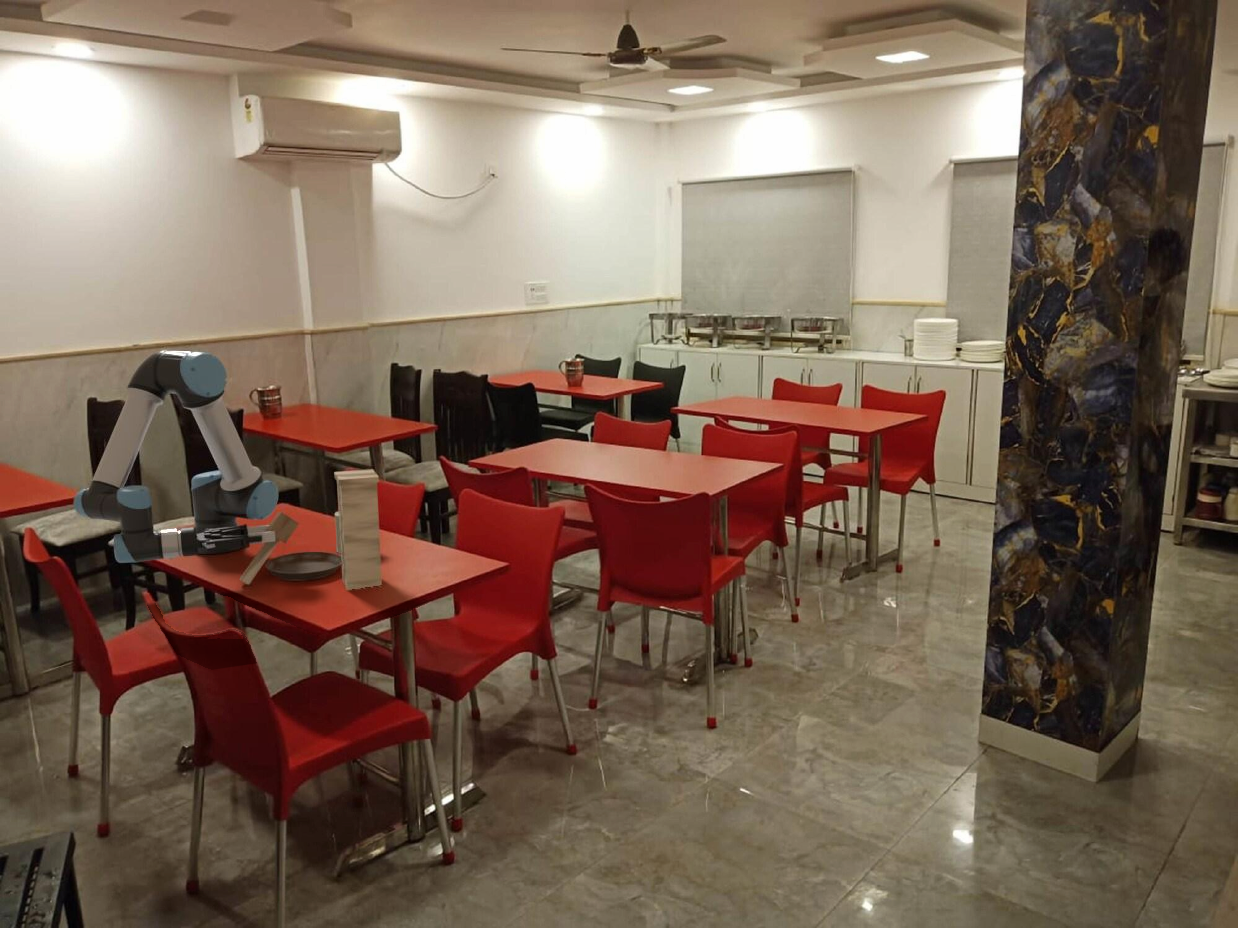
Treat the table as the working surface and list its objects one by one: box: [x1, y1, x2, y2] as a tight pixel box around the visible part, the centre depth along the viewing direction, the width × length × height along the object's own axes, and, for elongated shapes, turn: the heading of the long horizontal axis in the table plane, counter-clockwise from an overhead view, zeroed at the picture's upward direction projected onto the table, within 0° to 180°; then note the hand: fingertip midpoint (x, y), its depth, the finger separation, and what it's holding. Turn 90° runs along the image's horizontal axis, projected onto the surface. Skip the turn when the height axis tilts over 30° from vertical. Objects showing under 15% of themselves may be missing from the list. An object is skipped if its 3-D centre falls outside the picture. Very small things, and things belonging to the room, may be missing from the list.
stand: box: [333, 468, 383, 591], centre depth 262 cm, size 10×10×30 cm
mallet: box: [239, 511, 300, 586], centre depth 265 cm, size 6×20×6 cm
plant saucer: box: [265, 551, 342, 582], centre depth 274 cm, size 21×21×3 cm
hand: (273, 532), depth 266 cm, fingers closed on mallet, 6 cm apart
